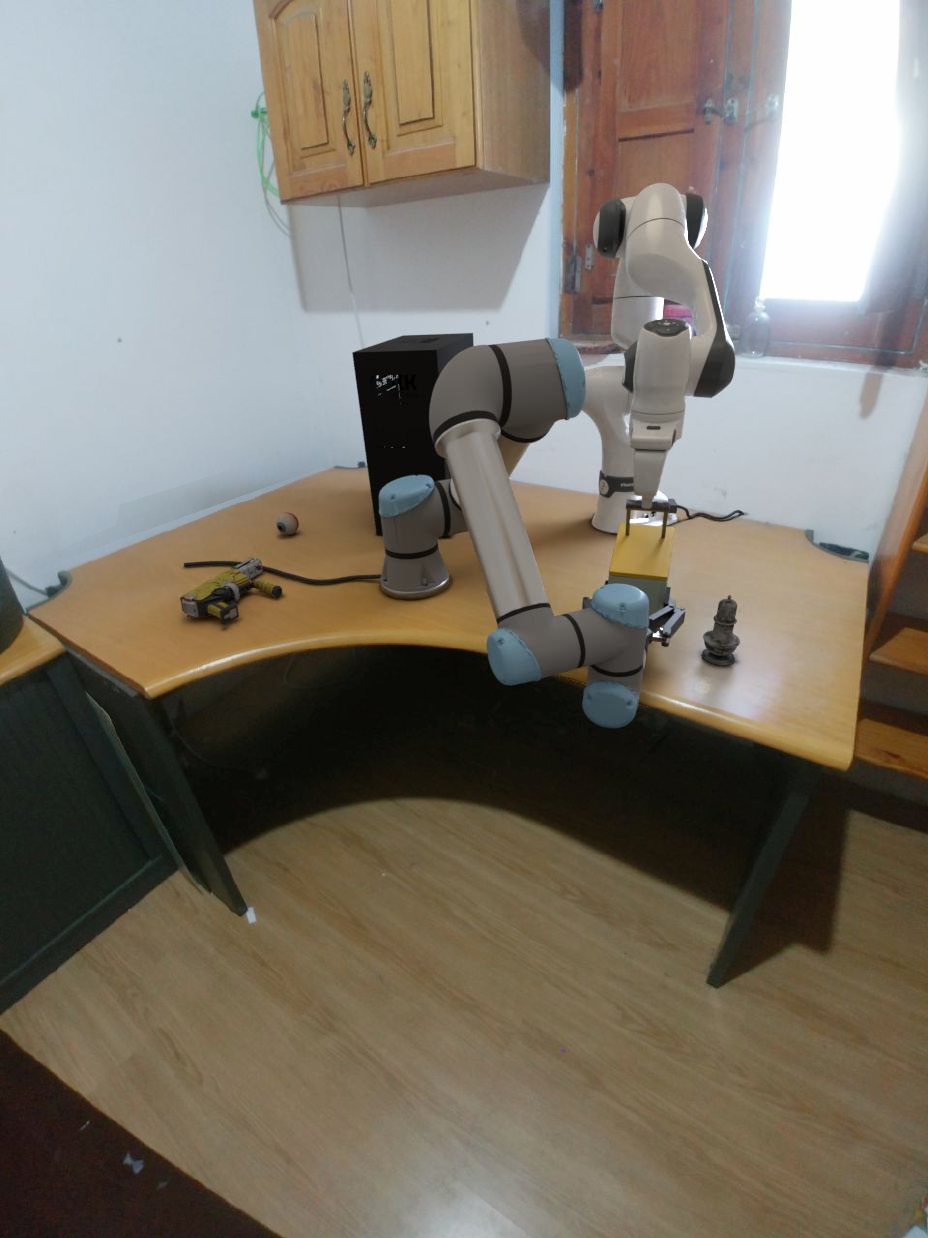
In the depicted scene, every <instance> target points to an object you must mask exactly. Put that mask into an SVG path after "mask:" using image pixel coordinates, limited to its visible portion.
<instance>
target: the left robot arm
mask: <svg viewBox="0 0 928 1238" xmlns="http://www.w3.org/2000/svg"><path fill="white" fill-rule="evenodd" d="M585 394H586V380H585V367H584V362H583V359H582V357H581V354H580V352H579V349H578V348H577V347H576V345H575V344H574V343H573V342H572V341H570V340H569V339H566V338H562V337H561V338H550V337H544V338H539V339H528V340H521V341H512V342H511V341H510V342H503V343H493V344H478V345H474V346H473V347H470V348H467V349H465V350H463V351H461V352H460V353H458V354H457V355H456V356H455V357H454V358H452V359H451V360H450V361H449V362H448V364H447V365H446V366H445V367H444V369H443V370H442V372H441V374H440V376H439V378H438V379H437V381H436V384H435V386H434V389H433V393H432V397H431V403H430V410H429V423H430V430H431V436H432V439H433V443H434V446H435V449H436V452H437V453H438V455H440V456H441V457H444V458H446V461H447V464H448V467H449V470H450V474H451V479H447V480H441V481H436V482H434V481H433V479H432V478H431V477H429V476H427V475H418V476H415V475H411V476H406V477H402V478H399V479H396V480H394V481H391V482H390V483H388V484H386V485H385V486H384V487H383V488H382V489H381V491H380V493H379V514H380V516H381V524H382V532H383V535H382V538H383V546H384V559H383V564H382V569H381V574H380V573H378V574H377V573H376V574H356V575H348V576H342V577H336V578H335V577H334V578H326V579H325V578H324V579H318V578H317V579H316V578H308V577H304V576H301V575H297V574H294V573H289V572H287V571H283V570H281V569H277V568H274V567H269V566H265V565H262V570H263V571H265V572H269V573H273V574H276V575H279V576H283V577H285V578H289V579H293V580H297V581H300V582H304V583H308V584H315V585H316V584H317V585H328V584H337V583H342V582H350V581H358V580H379V581H380V589H381V591H382V592H383V593H384V594H385V595H387V596H389V597H392V598H395V599H398V600H399V599H400V600H420V599H426V598H429V597H433V596H436V595H438V594H440V593H442V592H443V591H445V589H446V588H448V586H449V584H450V573H449V570H448V568H447V566H446V564H445V561H444V558H443V556H442V554H441V552H440V547H439V538H443V537H442V536H447V535H451V536H452V535H456V534H457V535H458V534H461V533H466V532H468V535H469V538H470V540H471V541H470V542H471V544H472V547H473V551H474V554H475V557H476V560H477V563H478V567H479V570H480V573H481V577H482V579H483V582H484V586H485V589H486V592H487V595H488V598H489V602H490V606H491V609H492V611H493V615H494V618H495V621H496V624H497V628H496V630H493V631H491V632H490V633H489V634H488V636H487V639H486V651H487V654H488V656H487V659H488V662H489V666H490V668H491V671H492V673H493V675H494V677H495V678H496V679H497V681H499V682H500V683H501V684H503V685H505V686H516V685H520V684H525V683H530V682H538V681H541V679H544V678H548V677H552V676H557V675H559V674H562V673H567V672H570V671H574V670H578V669H581V668H585V667H587V679H586V686H585V688H584V689H583V695H582V696H583V697H582V700H581V701H582V702H581V703H582V704H581V705H582V710H583V712H584V715H585V716H586V717H587V718H588V719H589V721H591V722H592V723H593V724H595V725H597V726H599V727H602V728H606V729H620V728H623V727H625V726H628V725H629V724H630V723H631V722H632V721H633V720H634V719H635V717H636V713H637V711H638V708H639V707H640V696H641V690H642V682H643V676H644V672H645V667H646V661H647V655H648V651H649V646H650V645H651V644H652V643H653V642H656V643H660V644H661V647H663V648H668V647H669V646H670V642H671V641H670V640H671V639H672V637H674V635H675V634H676V633H677V631H678V630H679V629H680V628H681V627H682V626H683V624H684V623H685V619H686V618H685V617H686V608H684V607H679V608H676V601H677V600H676V599H675V598H670V596H671V586H667V588H666V593H665V599H664V606H663V609H661V610H659V611H657V612H656V613H654V614H652V615H650V616H649V600H648V597H647V595H646V594H645V593H644V592H642V591H640V590H639V589H638V588H636V587H634V586H631V585H627V584H608V579H607V580H605V581H604V584H603V585H601V586H600V587H599V588H597V589H596V590H594V592H593V594H592V598H590V597H588V596H584V597H582V603H581V605H582V606H581V609H579V610H575V611H570V612H567V613H561V614H558V615H557V614H556V615H555V614H554V611H553V608H552V607H551V602H550V600H549V597H548V594H547V590H546V588H545V585H544V582H543V578H542V576H541V573H540V569H539V566H538V563H537V560H536V557H535V554H534V551H533V548H532V545H531V541H530V539H529V535H528V532H527V529H526V526H525V524H524V521H523V517H522V514H521V511H520V508H519V505H518V501H517V498H516V496H515V492H514V490H513V486H512V484H511V481H510V477H511V475H512V474H513V472H514V471H515V469H516V468H517V466H518V464H519V463H520V461H521V459H522V458H523V456H524V455H525V454H526V452H527V450H528V448H529V447H530V445H531V444H535V443H537V442H538V441H541V440H542V439H544V438H545V437H546V436H547V435H548V433H549V432H550V431H551V429H552V428H553V427H554V425H555V423H556V422H558V421H561V420H564V421H569V420H571V419H573V418H576V417H577V416H579V415H580V413H581V412H582V408H583V405H584V401H585ZM242 562H243V561H236V560H204V561H191V562H183V567H185V568H187V567H200V566H201V567H202V566H237V565H238V564H240V563H242ZM256 569H257V570H261V564H259V565H258V566H256ZM660 627H661V628H660ZM658 628H660V631H656V629H658ZM655 631H656V633H654V632H655Z"/></svg>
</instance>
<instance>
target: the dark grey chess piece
mask: <svg viewBox="0 0 928 1238" xmlns="http://www.w3.org/2000/svg"><path fill="white" fill-rule="evenodd" d="M737 610H738V603H737V602H736V600H735V599H732V595H731V594H729V595H728V596H727V598H723V599H720V601H719V602H718V605H717V610H716V615H714V616H713V622H714V624H713V628H712V629H711V630H707V631H705V633H703V635H702V639H703V642H704V646H705V649H703V650H702V652H701V656H702V658H703V659H704V660H705V661H706V662H708V663H710V664H714V665H718V666H727V665H731V664H732V663H734V661H735V659H736V657H735V654H733V653H734V652H735V651H736V650H737V648H738V647H739V646H740V644H741V639H740V638H739V636H737V635H736V634H734V628H735V625H736V624H737V623H738V620H737V618H736V615H737Z"/></svg>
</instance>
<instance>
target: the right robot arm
mask: <svg viewBox="0 0 928 1238" xmlns="http://www.w3.org/2000/svg"><path fill="white" fill-rule="evenodd" d="M707 212H708V211H707V205H706V202H705V199H704V198H703V196H702V195H701V194H700V195H699V194H697V193H692V192H684V194H683V193H680V192H679V191H678V189H677V188H676V187H674V186H673V185H672V184H669V183H665V182H657V183H652V184H650V185H648V186H646V187H645V188H643V189H642V190H641V191H640V192H638V194H637V195H634V196H629V197H624V198H620V197H614V198H612V199H609V200H608V199H607V200H606V201H605V202H603V204H602V205H601V206H600V207H599V209H598V212H597V214H596V216H595V218H594V221H593V222H594V223H593V227H592V228H593V229H592V238H593V242H594V246H595V248H596V249H595V250H596V253H597V254H599V256H600V257H602V258H604V259H610V260H615V259H619V260H618V264H617V269H616V274H615V280H614V286H613V297H612V307H611V308H612V309H611V322H610V323H611V324H610V335H611V336H610V337H611V339H612V340H613V342H614V343H615V344H616V345H618V346H619V347H621V348H622V349H625V351H624V352H623V358H624V365H603V366H597V367H593V368H589V369H586V370H585V369H584V371H585V380H586V394H585V401H584V405H583V408H582V410H581V412H583V413H584V414H586V415H587V416H588V417H589V418H590V419H591V420H592V422H593V423H594V425H595V427H596V429H597V431H598V434H599V436H600V437H599V438H600V443H601V468H600V470H599V474H598V492H599V493H598V498H597V502H596V507H595V511H594V514H593V517H592V520H591V525H592V526H593V527H594V528H595V529H597V530H599V531H601V532H605V533H611V534H618V530H619V526H620V523H626V514H627V510H626V501H627V499H628V500H642V504H641V506H642V508H648V509H649V508H651V507H652V502H653V501H660V502H670V508H669V513H668V518H667V526H670V525H672V524H675V523H677V522H678V516H677V515H676V514H677V513H678V509H681V510H682V511H684V512H685V515H686V517H687V518H688V519H693V518H695V517H697V516H704V517H707V518H710V519H712V520H716V521H722V520H727V519H729V518H731V517H733V516H735V514H739V515H741V516H744V515H745V513H744V511H742V510H740V509H736V510H733V511H732V512H730V513H729V514H727V515H725V516H715V515H712V514H710V513H707V512H701V511H698V512H695V513H693V514H691V515H690V511H689V509H688V508H687V507H685V506H683V505H680V504H678V503H677V501H676V499H675V498H668V497H667V496H666V495H665V494H664V493H663V492H661V491H660V490H659V489H660V484H661V479H662V475H663V471H664V467H665V464H666V460H667V456H668V454H669V452H670V451H671V450H672V448H673V447H674V444H675V443H676V442H677V441H678V440H680V439H682V436H683V430H684V423H685V415H686V399H687V397H693V398H704V399H712V398H714V397H715V396H717V395H718V394H720V393H721V392H723V391H724V390H725V389H726V388H727V387H728V386H729V385H730V384H731V383H732V380H733V379H734V375H735V370H736V353H735V347H734V344H733V342H732V340H731V337H730V335H729V332H728V330H727V327H726V323H725V319H724V316H723V312H722V308H721V307H722V306H721V303H720V299H719V295H718V291H717V287H716V284H715V279H714V276H713V273H712V271H711V267H710V265H709V263H708V262H707V261H706V260H704V259H703V258H701V257H699V255H698V254H697V253H696V252H695V251H694V250H695V249H697V248H698V246H699V245H700V243H701V240H702V239H703V236H704V234H705V231H706V228H707V223H708V213H707ZM665 300H668V301H671V302H674V303H677V304H680V305H681V306H683V307H685V308H686V309H687V310H689V312H690V314H691V317H692V318H691V319H692V323H693V326H694V331H695V335H693V336H692V328H691V325H690V324H689V323H688V322H686V321H685V320H682V319H676V318H663V313H664V312H663V311H664V301H665ZM626 416H629V422H627V421H626V418H625V417H626ZM663 516H664V512H651V511H636V510H631V517H630V524H639V525H652V526H663Z"/></svg>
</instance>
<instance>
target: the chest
mask: <svg viewBox="0 0 928 1238" xmlns="http://www.w3.org/2000/svg"><path fill="white" fill-rule="evenodd" d="M672 553H673V552H671V554H672ZM671 559H672V558H671ZM671 559H670V562H671V561H672V560H671ZM670 567H671V565H670V566H669V569H670ZM669 575H670V571H669V572H668V577H669ZM607 580H608V584H627V585H631V586H634V587H636V588H638V589H639V590H640V591H642V592H644V593H645V594H646V595H647V597H648V600H649V616H650V615H652V614H654V613H656V612H657V611H659V610H661V609H663V606H664V599H665V593H666V588H667V587H668V582H669V578H668V579H667V581H661V580H651V579H642V578H632V577H622V576H613V575H609V574H608V579H607ZM660 628H662V626H661V627H660ZM660 628H658V629H656V630H655V631H656V632H658V631H660Z"/></svg>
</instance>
